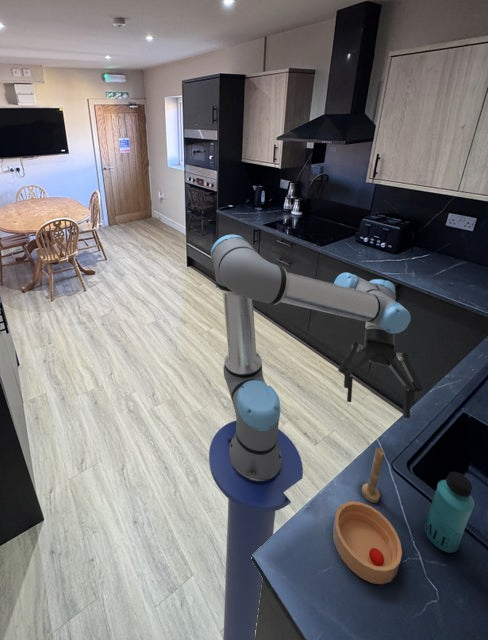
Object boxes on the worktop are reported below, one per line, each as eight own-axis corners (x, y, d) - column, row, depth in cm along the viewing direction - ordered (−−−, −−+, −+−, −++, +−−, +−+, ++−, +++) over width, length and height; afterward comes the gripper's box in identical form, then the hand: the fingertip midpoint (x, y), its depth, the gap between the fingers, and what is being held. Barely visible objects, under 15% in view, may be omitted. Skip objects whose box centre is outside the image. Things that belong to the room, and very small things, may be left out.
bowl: (320, 535, 75) (323, 521, 74) (354, 504, 81) (357, 490, 80) (374, 601, 65) (379, 586, 63) (409, 560, 71) (414, 545, 69)
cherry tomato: (389, 566, 68) (379, 559, 71) (384, 550, 69) (375, 543, 72) (377, 570, 68) (368, 562, 70) (373, 554, 69) (364, 547, 71)
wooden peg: (358, 489, 85) (367, 446, 80) (369, 484, 86) (379, 441, 81) (371, 505, 81) (381, 461, 76) (382, 499, 83) (393, 455, 78)
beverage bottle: (455, 536, 75) (478, 474, 69) (458, 566, 70) (483, 502, 63) (421, 518, 78) (440, 458, 72) (422, 546, 73) (442, 484, 67)
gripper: (426, 343, 93) (427, 424, 85) (332, 325, 103) (325, 396, 94) (435, 338, 87) (438, 424, 79) (334, 319, 96) (328, 394, 88)
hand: (377, 409), depth 86 cm, fingers open, 13 cm apart
